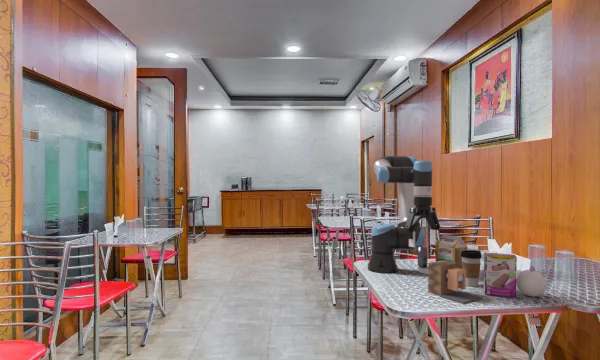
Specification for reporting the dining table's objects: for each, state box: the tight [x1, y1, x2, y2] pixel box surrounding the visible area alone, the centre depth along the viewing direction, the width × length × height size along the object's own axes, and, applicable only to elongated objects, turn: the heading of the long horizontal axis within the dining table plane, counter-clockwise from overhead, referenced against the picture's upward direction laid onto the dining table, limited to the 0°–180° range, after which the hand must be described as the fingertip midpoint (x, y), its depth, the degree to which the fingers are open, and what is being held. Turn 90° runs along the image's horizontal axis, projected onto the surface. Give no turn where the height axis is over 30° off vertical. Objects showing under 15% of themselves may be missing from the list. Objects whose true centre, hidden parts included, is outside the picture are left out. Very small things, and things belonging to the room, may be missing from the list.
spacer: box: [448, 268, 466, 291], centre depth 143 cm, size 4×6×8 cm
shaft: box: [417, 245, 465, 283], centre depth 150 cm, size 21×4×11 cm, turn 32°
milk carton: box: [434, 234, 468, 269], centre depth 181 cm, size 11×11×19 cm
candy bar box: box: [483, 251, 518, 299], centre depth 146 cm, size 11×5×16 cm, turn 71°
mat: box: [439, 290, 483, 305], centre depth 142 cm, size 10×12×1 cm
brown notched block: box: [427, 260, 457, 297], centre depth 149 cm, size 6×10×12 cm, turn 122°
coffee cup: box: [461, 249, 483, 288], centre depth 161 cm, size 8×8×15 cm
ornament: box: [516, 265, 548, 298], centre depth 145 cm, size 10×10×12 cm
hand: (422, 245), depth 157 cm, fingers open, 13 cm apart
